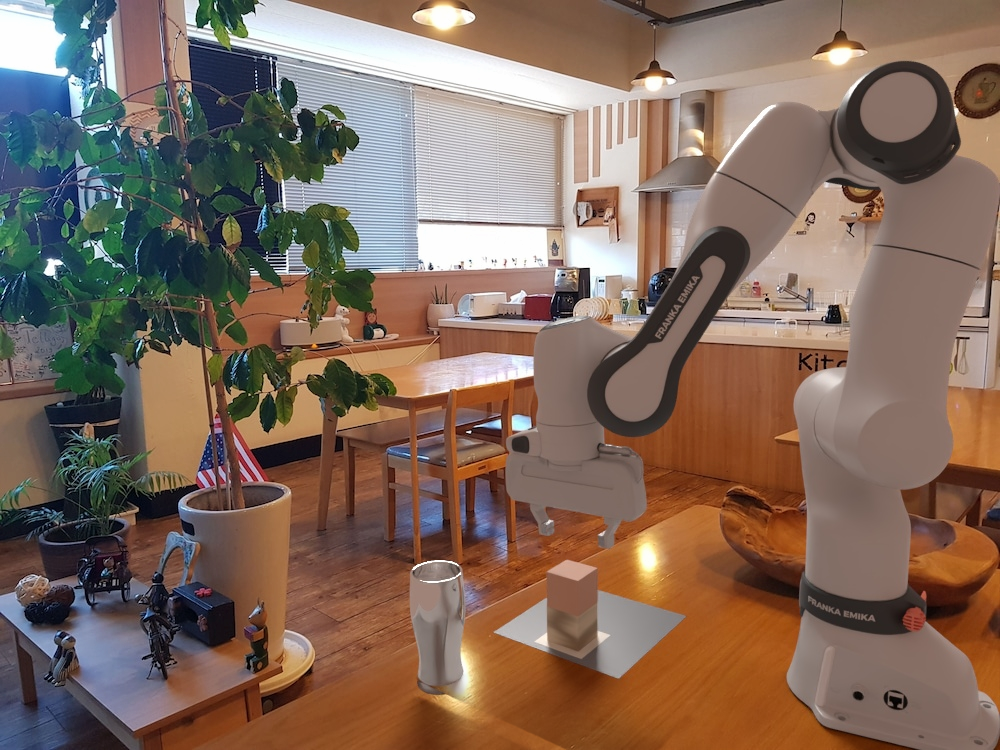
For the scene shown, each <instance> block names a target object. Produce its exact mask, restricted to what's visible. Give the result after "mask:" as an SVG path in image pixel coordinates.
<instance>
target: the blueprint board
mask: <svg viewBox="0 0 1000 750" xmlns="http://www.w3.org/2000/svg"><path fill="white" fill-rule="evenodd" d="M686 618H687V615H684V614H681V613H677V612H674V611H672V610H667V609H664V608H661V607H657V606H654V605H650V604H647V603H643V602H640V601H636V600H633V599H630V598H627V597H626V598H625V597H624V596H620V595H616V594H614V593H611V592H610V593H609V592H606V591H603V590H599V589H598V603H597V619H598V636H597V637H596V638H595V639H594V640H592V641H591V642H590V643H588V644H587V645H586V646H585V647H583V648H582V649H581V650H580V651H575V650H572V649H569V648H567V647H564V646H561V645H558V644H555V643H553V642H550V641H547V597H545V598H543V600H541V601H539V602H537V603H536V604H535V605H533V606H531V607H530V608H528V609H527V610H526V611H524V612H522V613H521V614H519V615H518V616H516V617H515V618H513V619H511V620H510V621H508V622H507V623H505V624H504V625H502V626H500V627H499V628H498V629H497V630H496V629H495V631H493V633H494V634H497V635H499V636H502V637H503V638H507V639H510V640H513V641H515V642H517V643H521V644H523V645H526V646H528V647H531V648H534V649H536V650H539V651H542V652H544V653H548V654H550V655H552V656H556V657H558V658H561V659H563V660H566V661H569V662H571V663H574V664H577V665H580V666H582V667H586V668H587V669H590V670H593V671H596V672H598V673H601V674H604V675H607V676H610V677H611V678H615V679H618V680H619V679H620V678H622V677H623V676H624V675H625V674H626V673H627V672H628V671H629V670H631V668H632V667H634V665H636V663H638V662H639V661H641V660H642V658H643V657H644V656H646V654H648V653H649V651H651V650H652V649H653V648H654V647H655V646H657V644H658V643H659V642H660V641H662V640H663V639H664V638H665V637H666V636H667V635H668V634H669V633H670V632H672V630H674V629H675V627H677V626H678V625H679V624H680V623H681V622H683V620H685V619H686Z"/></svg>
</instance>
